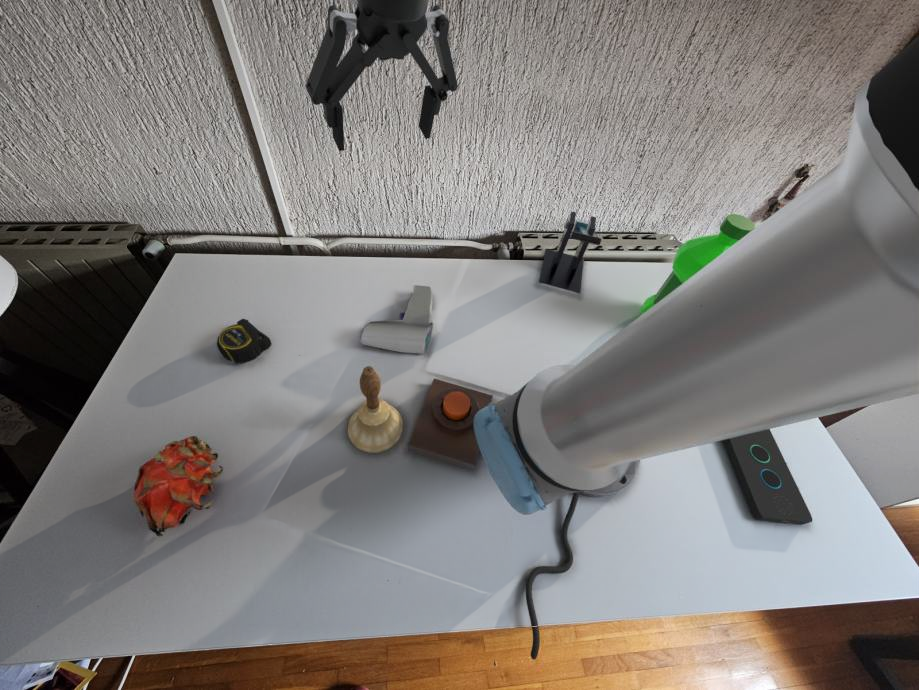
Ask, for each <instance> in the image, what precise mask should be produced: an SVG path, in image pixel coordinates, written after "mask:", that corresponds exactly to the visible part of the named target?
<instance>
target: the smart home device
mask: <svg viewBox="0 0 919 690" xmlns="http://www.w3.org/2000/svg"><path fill="white" fill-rule="evenodd" d="M722 442H723V445H724V448H725V450H726V453H727V455H728V459H729V460H730V463H731V466H732V468H733V472H734V473H735V477H736V479H737V481H738V483H739V486H740V489H741V491H742V494H743V496H744V499H745V501H746V504H747V507H748V509H749V512H750V514H751V516H752V518H753V519H754V520H756V521H760V522H769V523H779V524H780V523H781V524H790V525H791V524H792V525H802V526H803V525H806V524H810V523H813V517H812V516H813V515H812V514H811V512H810V510H809V508H808V505H807V503H806V502H805V499H804V497H803V495H802V493H801V491H800V489H799V486H798V485H797V482H796V480H795V479H794V476H793V474H792V472H791V470H790V468H789V466H788V464H787V462H786V460H785V458H784V456H783V454H782V451H781V449H780V448H779V446H778V443H777V441H776V438H775V437H774V434H773V433H772V431H771V429H767V430H763V431H759V432H755V433H750V434H746V435H742V436H738V437H734V438H729V439H725V440H722Z"/></svg>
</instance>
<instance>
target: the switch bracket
mask: <svg viewBox="0 0 919 690" xmlns="http://www.w3.org/2000/svg"><path fill="white" fill-rule="evenodd" d="M576 217H577V212H576V211H571V212H570V214H569V216H568V219H567V220H565V222H564V225H563V229H564V230H563V232H562V235H561V237H560V240H559V243H558V245H557V248H556V250H553V249H549V248H545V252H544V257H543V262H542V265H541V270H540V275H539V279H538V283H540V284H544V285H548V286H552V287H554V288H559V289H563V290H567V291H570V292H574V293H577V294H581V293H582V285H583V284H582V283H583V275H584V265H585V258H584V255H585V253H586V251H587V249H588V246H589V244H590V243H587V242H583V241H579V244H578V246H577V248H576V250H575V252H574V254H568V253H564V252H565V250H566V248H567V246H568V245H567V244H568V243H569V239H570V236H571V233H572V230H573V227H574V224H575V221H576ZM596 223H597V217H596V216H593V215H592V216H590V218H589V220H588V222H587V224H588V226H587V229H586V231H587V233H588V234H589V235H590V236H594V235H595V234H596V231H597V228H596Z"/></svg>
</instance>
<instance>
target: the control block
mask: <svg viewBox="0 0 919 690" xmlns="http://www.w3.org/2000/svg"><path fill="white" fill-rule="evenodd" d="M451 392H461V393H464V394H465V395H466V396H467V397H468V398H469V400H470V409H469V413H468V415H467V416H466V417H465V418H464V419H462V420H459V421H454V420H451V419H449V418H447V417H446V416H445V414H444V412H443V402H444V398H445V397H446V395H448V394H449V393H451ZM493 398H494V395H492V394H489V393H486V392H482V391H479V390H475V389H473V388H468V387H466V386H465V387H464V386H461V385H458V384H455V383H451V382H449V381H444V380H441V379H438V378H433V380H432V382H431V384H430V388H429V390H428V393H427V395H426V398H425V400H424V404H423V406H422V407H421V410H420V413H419V416H418V418H417V421H416V424H415V427H414V429H413V432H412V434H411V437H410V439H409V443H408V451H409V452H411V453H415V454H418V455H421V456H425V457H427V458H432V459H434V460H437V461H440V462H443V463H447V464H451V465H454V466H457V467H461V468H464V469H466V470H470V471H474V470H475V467H476V464H477V461H478V457H479V453H480V449H479V446H478V443H477V439H476V436H475V431H474V417H475V415H476V413H477V412H478V411H479V410H481V409H483V408H485V407H486V406H488V405H489V403H491V402H493Z"/></svg>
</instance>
